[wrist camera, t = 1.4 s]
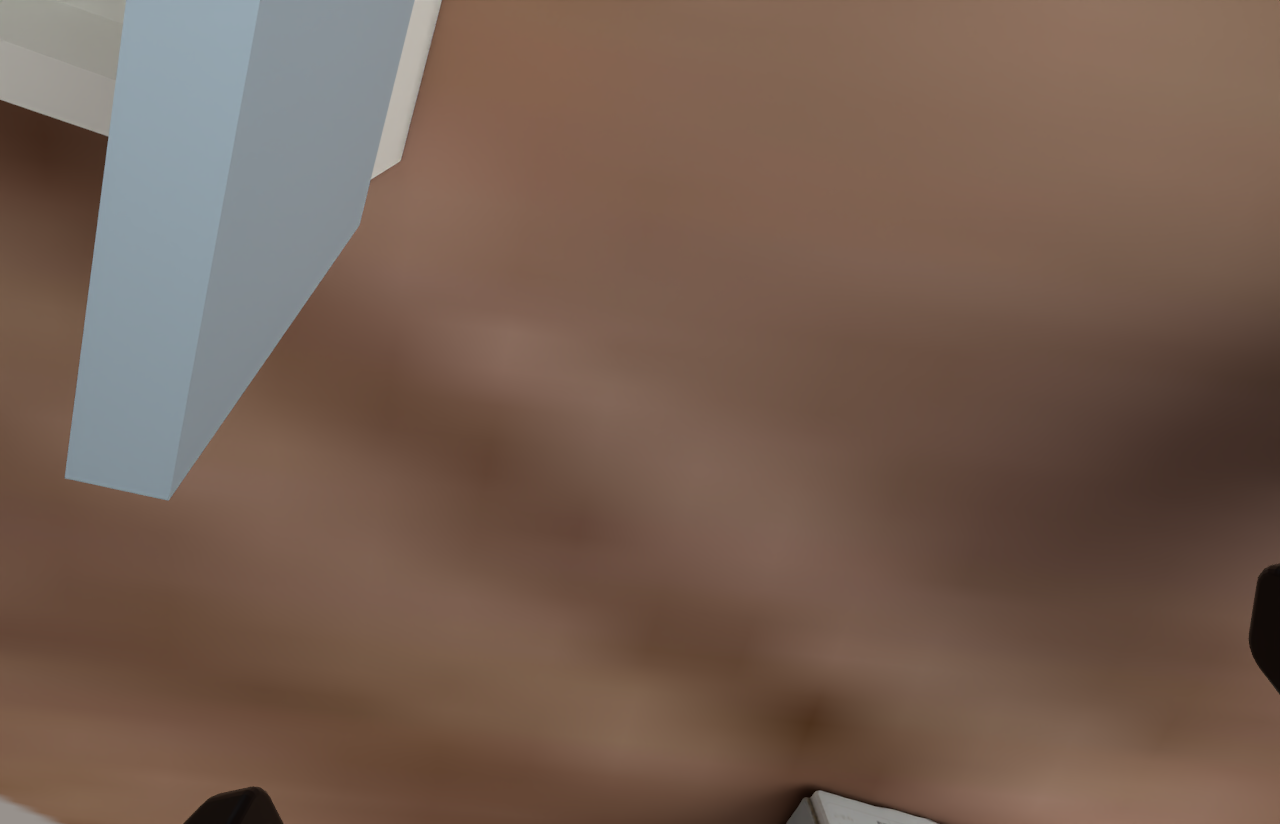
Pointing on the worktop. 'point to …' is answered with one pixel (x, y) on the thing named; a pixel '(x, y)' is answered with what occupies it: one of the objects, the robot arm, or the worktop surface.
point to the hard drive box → (847, 812)
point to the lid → (219, 212)
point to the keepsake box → (89, 52)
